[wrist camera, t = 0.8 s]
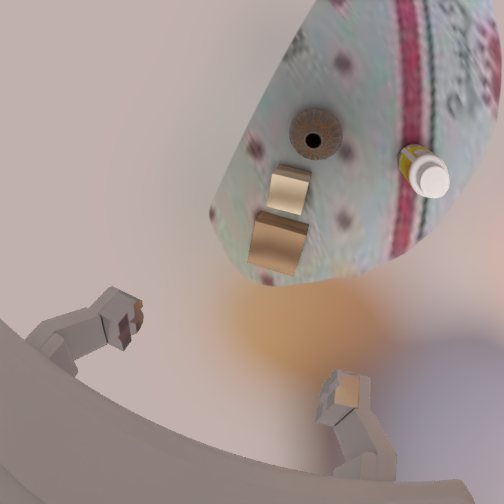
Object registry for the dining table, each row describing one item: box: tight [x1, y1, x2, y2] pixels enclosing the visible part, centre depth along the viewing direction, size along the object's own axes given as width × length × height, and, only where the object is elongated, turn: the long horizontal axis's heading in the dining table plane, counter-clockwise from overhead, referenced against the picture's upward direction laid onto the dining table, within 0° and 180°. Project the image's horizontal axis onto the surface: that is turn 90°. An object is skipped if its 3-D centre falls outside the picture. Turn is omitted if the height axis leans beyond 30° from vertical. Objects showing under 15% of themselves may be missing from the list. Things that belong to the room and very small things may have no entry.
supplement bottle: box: [398, 144, 450, 198], centre depth 32 cm, size 6×6×10 cm
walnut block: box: [247, 211, 309, 276], centre depth 48 cm, size 8×8×4 cm
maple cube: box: [267, 165, 311, 215], centre depth 41 cm, size 5×5×5 cm
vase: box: [290, 109, 342, 160], centre depth 34 cm, size 7×7×9 cm
